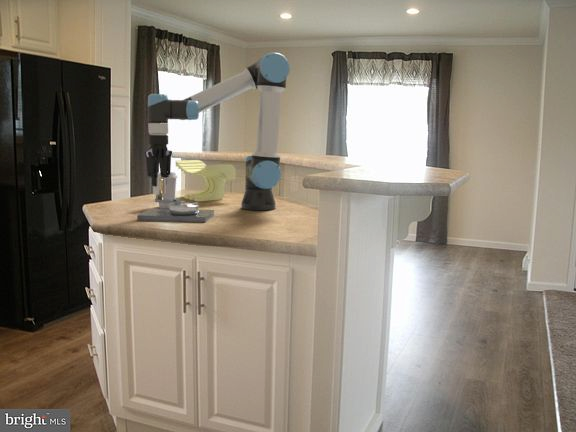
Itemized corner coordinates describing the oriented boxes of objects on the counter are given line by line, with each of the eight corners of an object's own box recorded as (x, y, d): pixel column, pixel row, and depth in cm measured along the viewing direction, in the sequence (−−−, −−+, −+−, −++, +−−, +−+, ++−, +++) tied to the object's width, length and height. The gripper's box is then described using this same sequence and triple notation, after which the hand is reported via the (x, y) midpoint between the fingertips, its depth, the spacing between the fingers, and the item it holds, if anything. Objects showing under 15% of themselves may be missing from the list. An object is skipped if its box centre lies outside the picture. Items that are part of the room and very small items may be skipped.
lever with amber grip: (204, 211, 215) (204, 181, 213) (186, 215, 206) (185, 183, 204) (166, 207, 224) (165, 177, 222) (147, 210, 215) (146, 180, 213)
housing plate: (213, 214, 222) (213, 209, 221) (205, 222, 205) (205, 216, 205) (150, 213, 223) (150, 208, 223) (137, 220, 206) (137, 214, 206)
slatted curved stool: (235, 201, 262) (235, 163, 259) (206, 203, 252) (206, 164, 249) (203, 194, 285) (203, 159, 282) (176, 196, 275) (175, 160, 272)
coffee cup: (172, 209, 234) (171, 174, 232) (151, 208, 236) (150, 173, 233) (181, 206, 243) (180, 172, 241) (161, 205, 245) (160, 171, 243)
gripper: (165, 134, 223) (166, 191, 227) (136, 134, 209) (137, 195, 213) (179, 134, 219) (180, 192, 223) (150, 134, 205) (152, 196, 209)
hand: (159, 193), depth 218 cm, fingers closed on lever with amber grip, 3 cm apart
